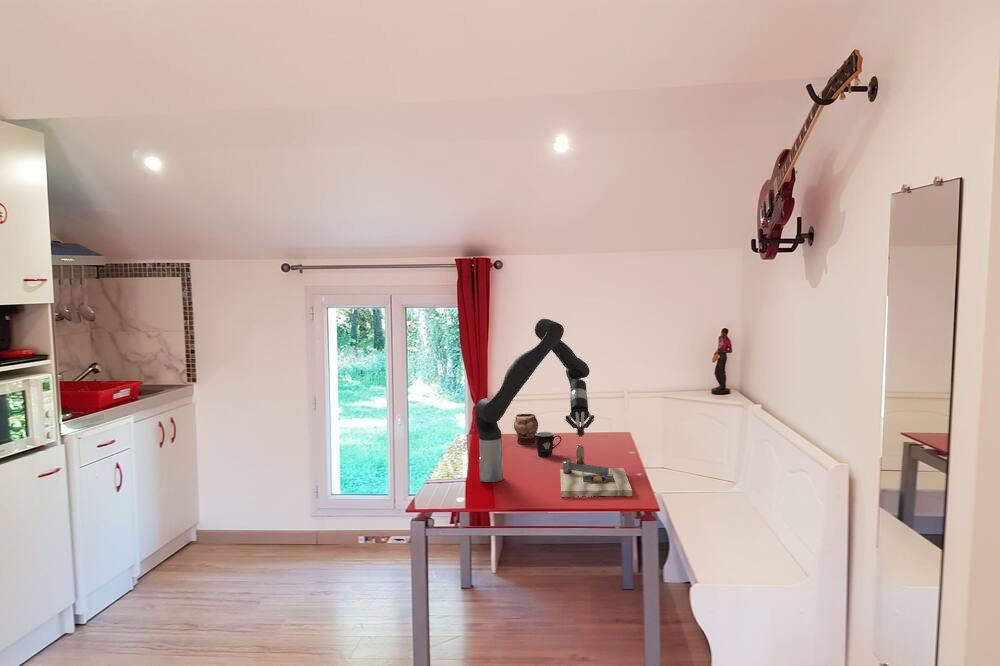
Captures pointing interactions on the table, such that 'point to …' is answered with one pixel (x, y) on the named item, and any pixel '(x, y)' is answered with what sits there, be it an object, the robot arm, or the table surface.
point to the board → (595, 484)
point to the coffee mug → (545, 443)
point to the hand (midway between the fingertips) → (580, 435)
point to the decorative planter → (526, 428)
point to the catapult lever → (580, 465)
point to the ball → (597, 478)
